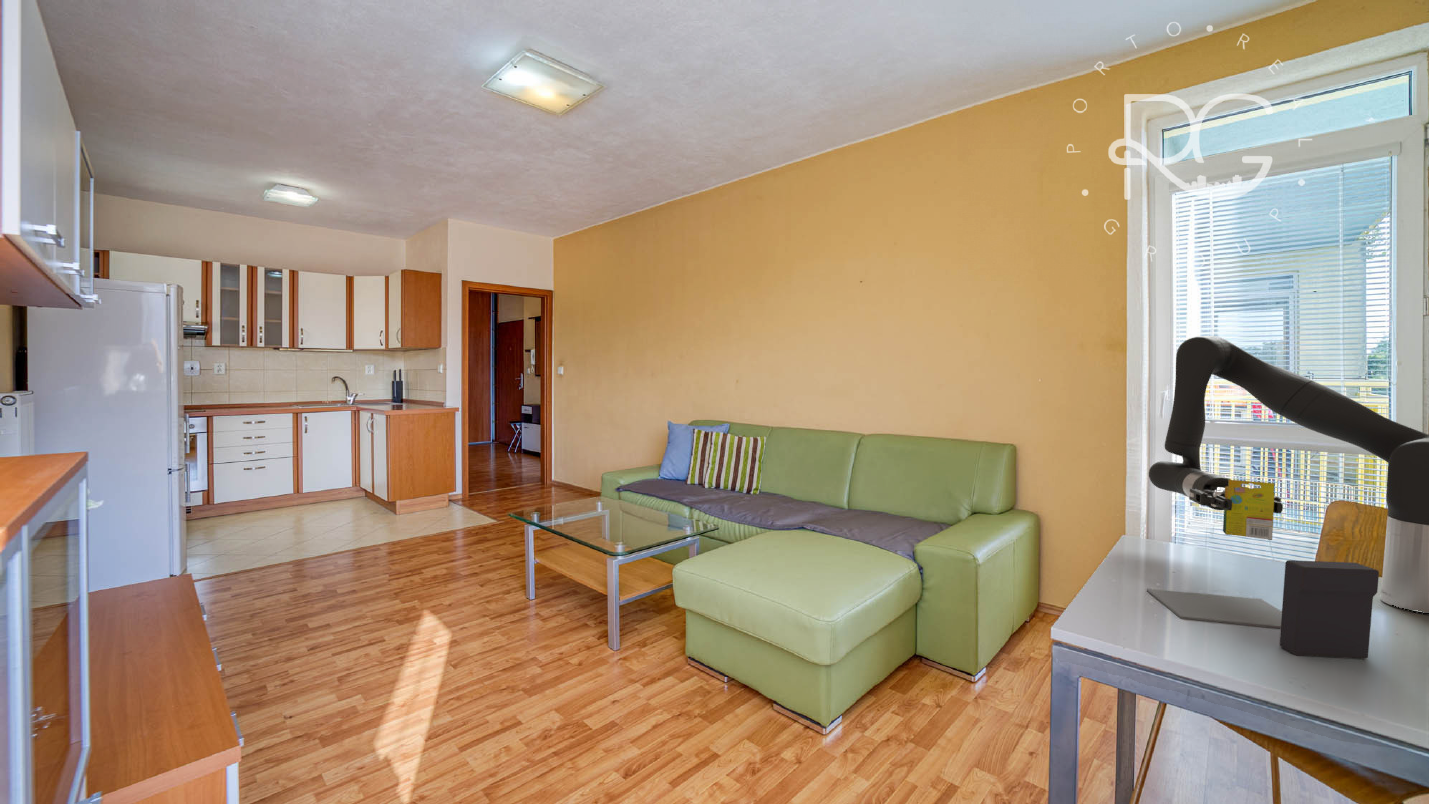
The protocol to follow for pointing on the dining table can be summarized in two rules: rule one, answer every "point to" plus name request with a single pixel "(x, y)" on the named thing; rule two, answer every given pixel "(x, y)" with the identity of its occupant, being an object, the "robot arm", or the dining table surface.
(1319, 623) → the black square block
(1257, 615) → the mat
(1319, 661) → the dining table surface
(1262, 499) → the crayon box
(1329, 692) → the dining table surface
